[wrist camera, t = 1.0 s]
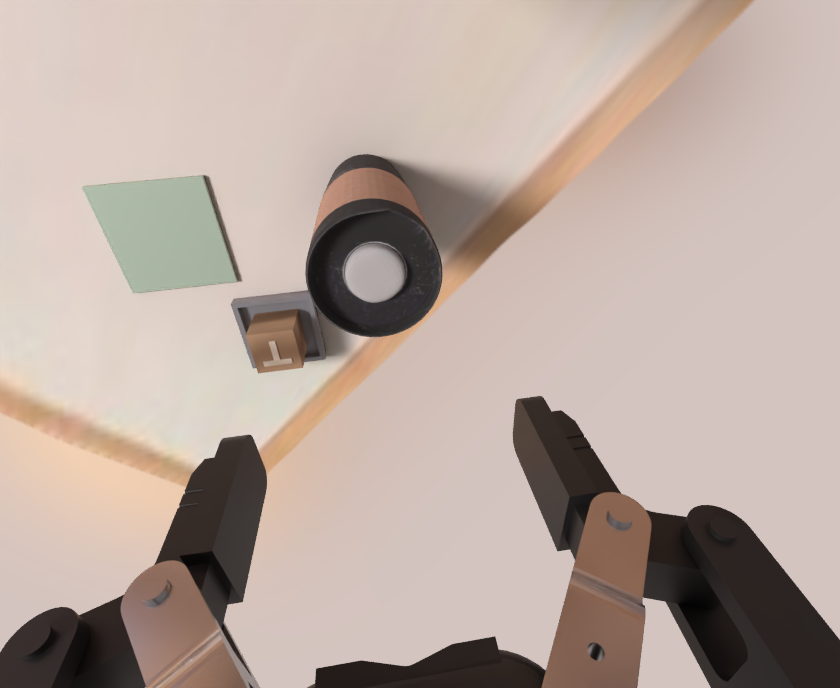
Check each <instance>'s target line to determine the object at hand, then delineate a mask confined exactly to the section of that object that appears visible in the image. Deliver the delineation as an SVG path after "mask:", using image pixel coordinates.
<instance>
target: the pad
mask: <svg viewBox="0 0 840 688" xmlns="http://www.w3.org/2000/svg"><path fill="white" fill-rule="evenodd" d="M82 188H83V191H84V193H85V195H86V197H87V199H88V201H89V203H90V205H91V207H92V209H93V211H94V213H95V215H96V218H97V220H98V222H99V224H100V226H101V228H102V230H103V232H104V234H105V236H106V238H107V240H108V242H109V245H110V247H111V249H112V251H113V253H114V255H115V257H116V259H117V261H118V263H119V265H120V267H121V269H122V272H123V274H124V276H125V278H126V280H127V282H128V284H129V286H130V288H131V290H132V292H133V293H139V292H148V291H157V290H166V289H175V288H184V287H193V286H202V285H211V284H221V283H230V282H237V281H238V279H237V276H236V273H235V270H234V267H233V264H232V261H231V258H230V254H229V251H228V248H227V245H226V242H225V239H224V236H223V233H222V230H221V227H220V224H219V221H218V218H217V215H216V212H215V208H214V205H213V202H212V199H211V196H210V193H209V190H208V187H207V184H206V181H205V178H204V175H201V176H190V177H179V178H168V179H157V180H146V181H135V182H125V183H114V184H103V185H92V186H84V187H82Z"/></svg>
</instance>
